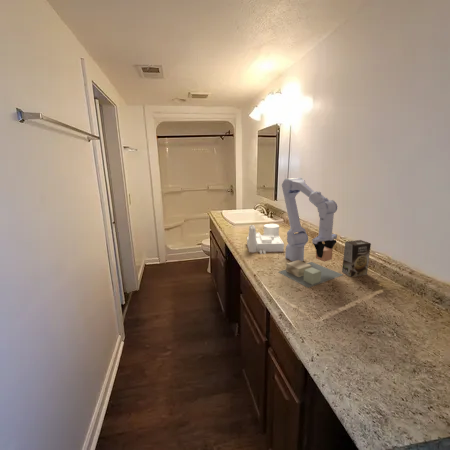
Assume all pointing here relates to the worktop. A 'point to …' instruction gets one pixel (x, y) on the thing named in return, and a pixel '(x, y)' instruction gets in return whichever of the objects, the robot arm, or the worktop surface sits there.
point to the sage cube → (312, 275)
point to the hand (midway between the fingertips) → (323, 255)
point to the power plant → (265, 239)
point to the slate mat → (325, 272)
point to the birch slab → (297, 267)
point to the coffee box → (356, 258)
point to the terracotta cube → (325, 254)
